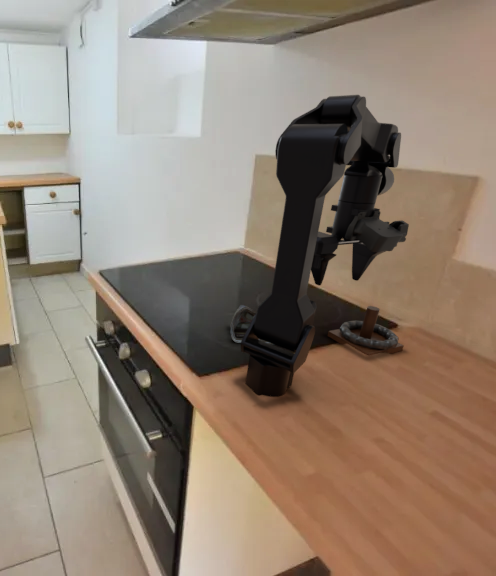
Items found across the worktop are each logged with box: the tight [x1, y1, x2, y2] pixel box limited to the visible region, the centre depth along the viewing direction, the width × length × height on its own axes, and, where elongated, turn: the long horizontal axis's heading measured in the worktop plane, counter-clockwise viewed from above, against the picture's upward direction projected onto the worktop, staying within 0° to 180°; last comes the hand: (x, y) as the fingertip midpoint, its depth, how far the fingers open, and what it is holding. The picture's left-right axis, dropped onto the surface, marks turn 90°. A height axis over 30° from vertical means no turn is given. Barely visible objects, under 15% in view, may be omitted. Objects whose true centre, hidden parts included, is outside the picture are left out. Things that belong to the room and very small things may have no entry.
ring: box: [338, 320, 400, 350], centre depth 74 cm, size 10×10×2 cm
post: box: [327, 305, 405, 356], centre depth 74 cm, size 9×9×8 cm
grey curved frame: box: [229, 304, 273, 345], centre depth 78 cm, size 10×7×12 cm
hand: (336, 282), depth 74 cm, fingers open, 9 cm apart
